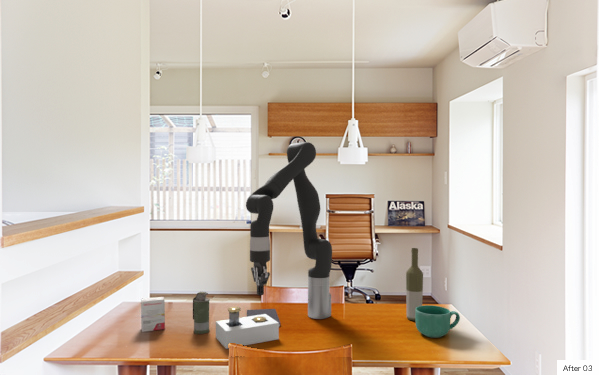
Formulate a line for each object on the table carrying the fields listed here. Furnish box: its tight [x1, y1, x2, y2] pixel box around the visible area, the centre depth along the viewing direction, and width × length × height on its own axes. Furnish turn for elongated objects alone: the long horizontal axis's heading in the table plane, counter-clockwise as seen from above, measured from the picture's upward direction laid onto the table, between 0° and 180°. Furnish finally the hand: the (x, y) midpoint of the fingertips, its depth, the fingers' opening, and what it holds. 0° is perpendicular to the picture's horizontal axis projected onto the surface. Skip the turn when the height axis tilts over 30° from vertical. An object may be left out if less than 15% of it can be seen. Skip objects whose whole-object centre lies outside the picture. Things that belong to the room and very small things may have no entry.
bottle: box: [405, 247, 424, 322], centre depth 180 cm, size 7×7×30 cm
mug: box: [414, 304, 461, 339], centre depth 162 cm, size 17×13×10 cm
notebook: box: [246, 308, 281, 327], centre depth 179 cm, size 13×2×21 cm
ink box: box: [140, 296, 166, 333], centre depth 166 cm, size 9×5×12 cm, turn 110°
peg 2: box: [254, 317, 266, 323], centre depth 159 cm, size 5×5×6 cm
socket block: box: [215, 314, 280, 349], centre depth 156 cm, size 20×12×6 cm, turn 118°
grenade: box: [192, 291, 210, 335], centre depth 163 cm, size 6×6×15 cm
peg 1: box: [227, 306, 242, 327], centre depth 154 cm, size 5×5×6 cm
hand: (260, 294), depth 158 cm, fingers closed
